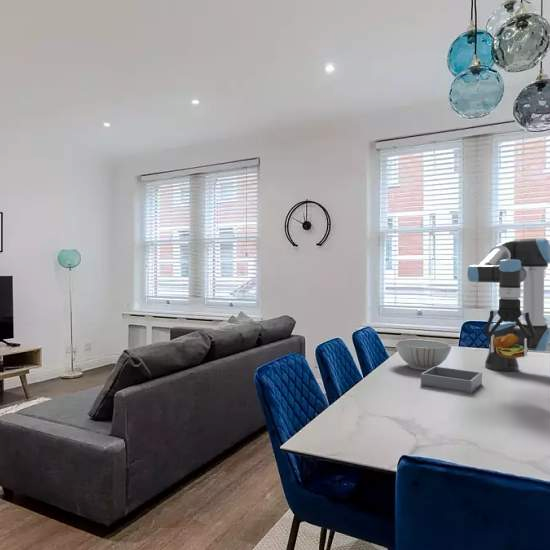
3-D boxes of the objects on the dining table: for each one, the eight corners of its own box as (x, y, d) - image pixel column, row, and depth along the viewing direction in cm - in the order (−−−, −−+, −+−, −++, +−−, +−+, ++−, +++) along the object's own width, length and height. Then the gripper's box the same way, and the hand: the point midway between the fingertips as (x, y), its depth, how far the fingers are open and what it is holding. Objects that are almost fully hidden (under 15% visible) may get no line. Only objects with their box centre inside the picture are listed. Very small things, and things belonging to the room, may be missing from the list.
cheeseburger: (531, 359, 169) (524, 333, 170) (501, 364, 171) (495, 339, 172) (521, 354, 179) (515, 330, 180) (494, 359, 181) (488, 335, 182)
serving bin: (434, 377, 202) (434, 366, 202) (481, 384, 190) (481, 372, 190) (420, 385, 187) (420, 373, 187) (471, 393, 175) (471, 381, 175)
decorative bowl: (423, 375, 204) (423, 349, 204) (383, 364, 228) (384, 341, 228) (463, 370, 217) (463, 345, 217) (421, 360, 241) (422, 338, 240)
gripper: (475, 297, 179) (474, 351, 179) (543, 300, 165) (542, 358, 166) (479, 296, 185) (478, 348, 185) (545, 299, 171) (544, 355, 172)
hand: (508, 353), depth 176 cm, fingers closed on cheeseburger, 11 cm apart
